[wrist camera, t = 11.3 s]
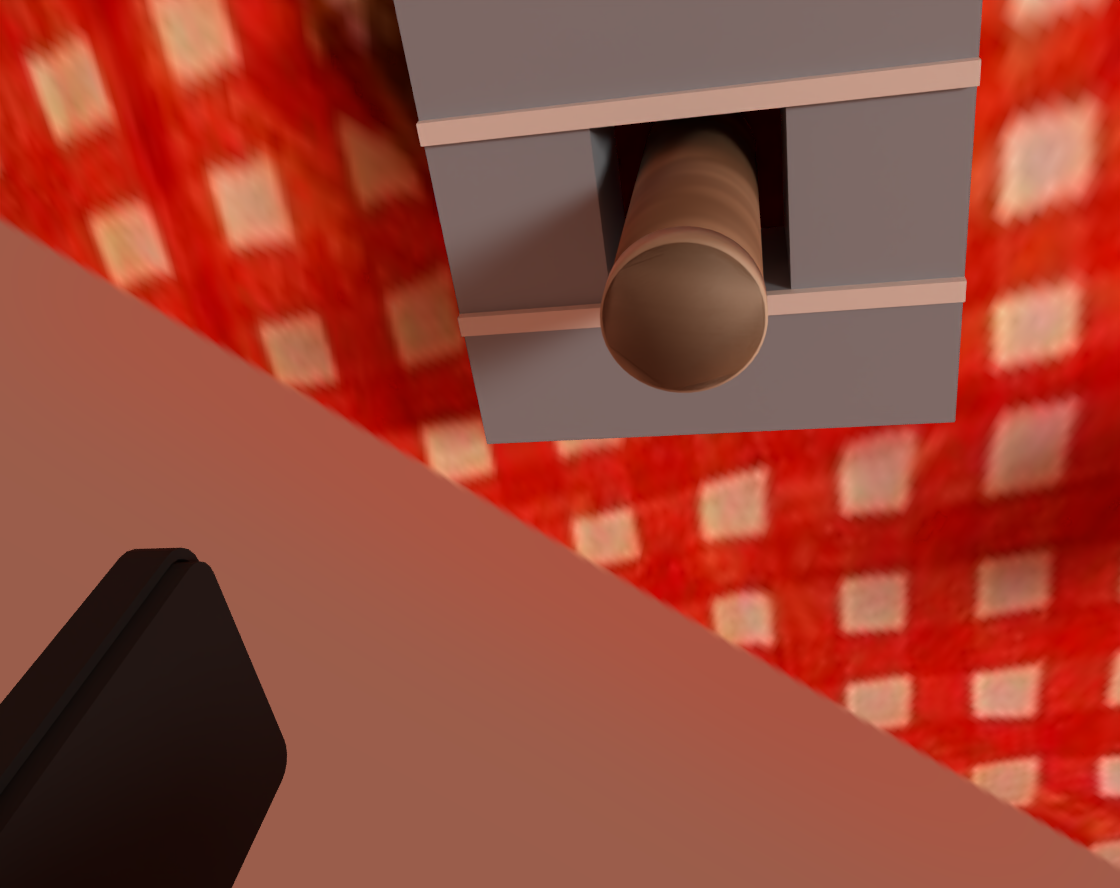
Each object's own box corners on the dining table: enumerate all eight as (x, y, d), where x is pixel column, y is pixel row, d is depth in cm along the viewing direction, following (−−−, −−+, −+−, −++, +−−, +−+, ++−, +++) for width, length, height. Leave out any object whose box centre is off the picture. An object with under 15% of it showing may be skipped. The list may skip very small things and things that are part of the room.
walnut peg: (755, 90, 30) (764, 232, 20) (760, 204, 32) (771, 388, 22) (637, 103, 31) (589, 246, 21) (648, 214, 33) (610, 397, 22)
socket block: (950, -140, 26) (993, -129, 22) (927, 344, 33) (956, 427, 29) (435, -62, 29) (381, -39, 25) (516, 370, 36) (485, 449, 32)
